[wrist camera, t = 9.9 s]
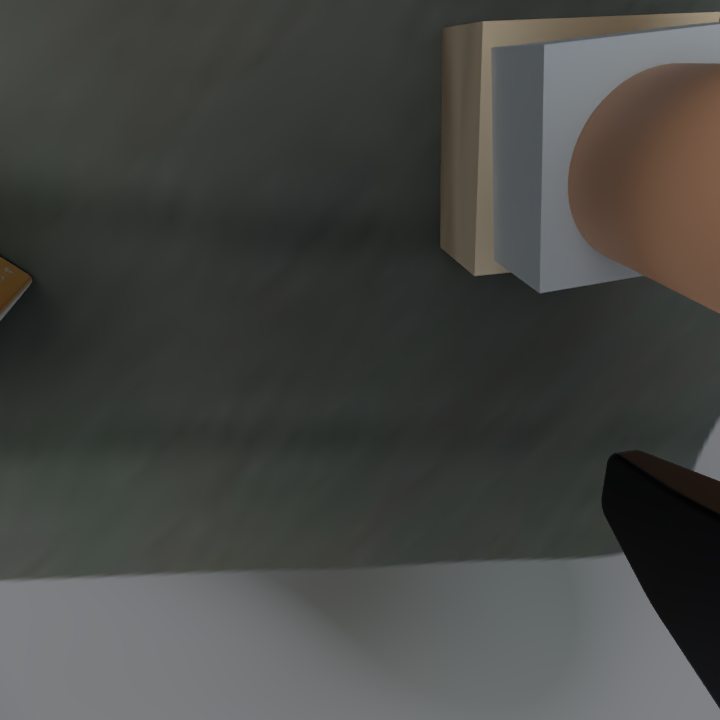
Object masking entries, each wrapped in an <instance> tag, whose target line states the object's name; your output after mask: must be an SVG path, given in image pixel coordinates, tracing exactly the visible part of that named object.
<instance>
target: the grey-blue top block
mask: <svg viewBox="0 0 720 720" xmlns="http://www.w3.org/2000/svg"><path fill="white" fill-rule="evenodd" d="M670 63H720V22H712V23H700V24H689V25H681V26H672V27H664V28H655V29H646V30H638V31H629V32H621V33H612V34H604V35H595V36H587V37H578V38H570V39H561V40H552V41H544V42H535V43H527V44H518V45H510V46H501V47H493V48H491V79H492V154H493V228H494V261H496V262H497V263H499V264H500V265H501V266H503V267H504V268H505V269H507V270H508V271H510V272H511V273H512V274H514V275H515V276H516V277H518V278H519V279H521V280H522V281H523V282H525V283H526V284H527V285H529V286H530V287H532V288H533V289H534V290H536V291H537V292H538V293H545V292H551V291H557V290H563V289H568V288H574V287H580V286H586V285H592V284H598V283H604V282H610V281H616V280H622V279H627V278H633V277H639V276H644V275H642V274H640V273H638V272H636V271H634V270H632V269H630V268H628V267H626V266H624V265H622V264H620V263H618V262H616V261H614V260H612V259H610V258H608V257H606V256H604V255H603V254H601V253H600V252H598V251H596V250H595V249H594V248H593V247H592V246H591V245H590V244H589V243H588V242H587V241H586V240H585V239H584V237H583V236H582V235H581V233H580V231H579V230H578V228H577V226H576V224H575V221H574V219H573V216H572V213H571V209H570V205H569V196H568V176H569V168H570V163H571V159H572V155H573V151H574V148H575V146H576V143H577V140H578V138H579V136H580V134H581V132H582V130H583V128H584V126H585V124H586V122H587V121H588V119H589V118H590V116H591V115H592V113H593V112H594V110H595V109H596V108H597V107H598V105H599V104H600V103H601V102H602V101H603V100H604V99H605V98H606V97H607V96H608V95H609V94H610V93H611V92H612V91H613V90H614V89H615V88H616V87H618V86H619V85H620V84H621V83H623V82H624V81H626V80H627V79H629V78H630V77H632V76H634V75H635V74H637V73H640V72H642V71H644V70H646V69H649V68H652V67H655V66H659V65H664V64H670Z"/></svg>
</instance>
